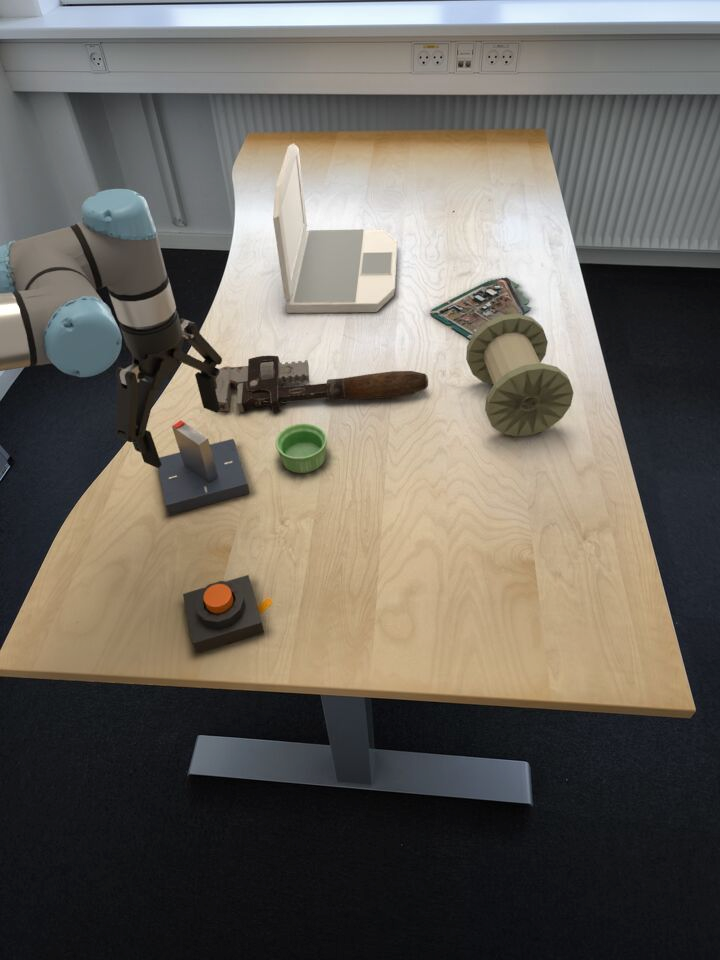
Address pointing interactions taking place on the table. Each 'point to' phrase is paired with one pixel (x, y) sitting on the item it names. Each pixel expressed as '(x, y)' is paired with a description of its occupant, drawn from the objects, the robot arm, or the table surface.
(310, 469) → the ramekin
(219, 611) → the release button
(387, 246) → the laptop
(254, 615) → the orange push button box
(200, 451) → the grey upright slab
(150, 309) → the robot arm
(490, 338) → the spool
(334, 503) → the table surface
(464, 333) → the circuit board
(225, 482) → the dark grey dial base
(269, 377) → the pipe wrench
